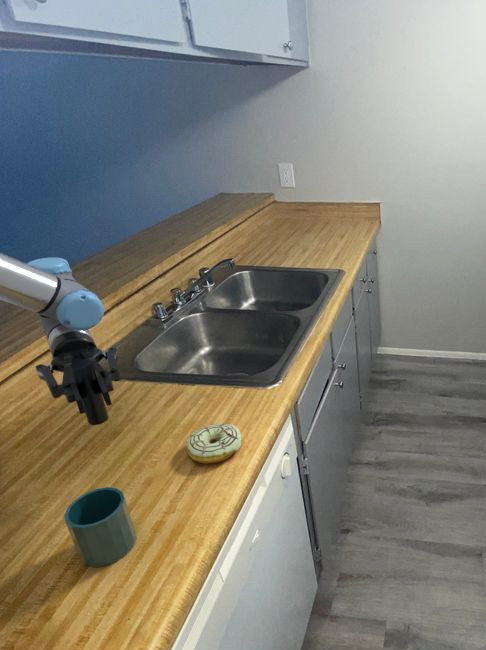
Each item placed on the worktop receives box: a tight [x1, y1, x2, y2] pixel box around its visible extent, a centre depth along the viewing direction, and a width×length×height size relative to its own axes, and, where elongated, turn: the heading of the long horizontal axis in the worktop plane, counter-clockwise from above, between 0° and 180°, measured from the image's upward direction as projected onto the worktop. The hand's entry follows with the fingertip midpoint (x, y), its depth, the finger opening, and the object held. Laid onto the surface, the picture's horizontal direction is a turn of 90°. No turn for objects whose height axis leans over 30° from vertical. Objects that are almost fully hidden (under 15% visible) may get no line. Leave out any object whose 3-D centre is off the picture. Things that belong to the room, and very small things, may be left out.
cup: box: [63, 486, 137, 568], centre depth 76 cm, size 8×8×9 cm
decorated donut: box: [185, 423, 243, 465], centre depth 98 cm, size 10×11×4 cm
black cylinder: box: [70, 359, 109, 426], centre depth 84 cm, size 3×3×12 cm
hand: (94, 402), depth 80 cm, fingers closed on black cylinder, 3 cm apart
